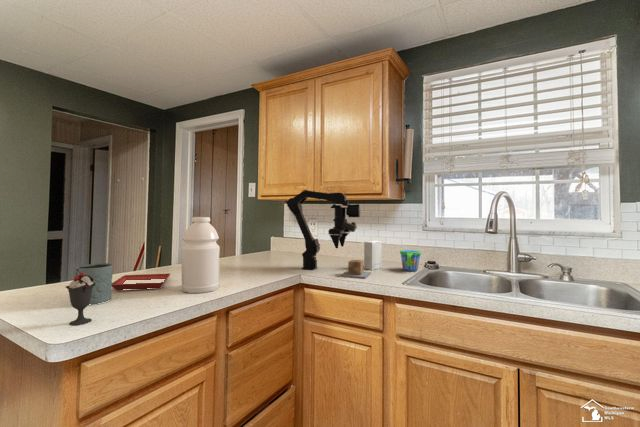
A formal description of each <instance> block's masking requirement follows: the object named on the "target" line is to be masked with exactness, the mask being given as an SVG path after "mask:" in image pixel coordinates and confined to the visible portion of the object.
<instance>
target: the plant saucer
mask: <svg viewBox="0 0 640 427" xmlns="http://www.w3.org/2000/svg"><path fill="white" fill-rule="evenodd" d="M170 276H171V273H151V274H150V273H149V274H145V273H144V274H124V275H122V276H121V277H119V278H117V280H115V281H113V282H112V286H111V288H113V289H114V290H115V291H117V290H123V289H147V288H160V287H162V286H163V285H164V284H165V282H166V281H167V280H168V279H169V277H170ZM151 279H165V280H164V282H161V283H136V284H123V283H124V282H125V281H126V280H151ZM160 289H161V288H160ZM147 290H148V289H147Z"/></svg>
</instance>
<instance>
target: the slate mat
mask: <svg viewBox="0 0 640 427" xmlns="http://www.w3.org/2000/svg"><path fill="white" fill-rule="evenodd" d="M371 274H372V271H364V273H363V274H361V275H352V274H348V269H347V270H346V271H344V272H342V273H341V274H340V275H339V276H340V277H341V278H342V277H343V278H353V279H364V280H365V279H368V278H369V276H370V275H371Z"/></svg>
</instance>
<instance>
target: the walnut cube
mask: <svg viewBox="0 0 640 427" xmlns="http://www.w3.org/2000/svg"><path fill="white" fill-rule="evenodd" d="M347 262H348V263H347V264H348V265H347V268H348V269H347V270H348V274H352V275H361V274H363V273H364V272H365V271H364V260H360V259H359V260H358V259H350V260H349V261H347Z"/></svg>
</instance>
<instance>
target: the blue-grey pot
mask: <svg viewBox="0 0 640 427" xmlns="http://www.w3.org/2000/svg"><path fill="white" fill-rule="evenodd" d="M76 269H78V271H79V272H80V273H79V272H78V271H77V270H76ZM113 271H114V264H113V263H108V262H107V263H102V262H101V263H91V264H84V265H79V266H75V273H76V272H77V276H79V275H80V274H81V273H84V274H85V275H87V276H90V277H92V278H93V279H94V280H93V283H96V284H95V286H94V287H93V288H92V294H91V300H90V303H89V304H97V305H99V304H98V303H102V302H106V301H108V300H110V299H111V300H112V291H113V290H112V283H113V282H112V280H113ZM111 300H110V301H111ZM106 303H107V302H106ZM102 304H103V303H102Z"/></svg>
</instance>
